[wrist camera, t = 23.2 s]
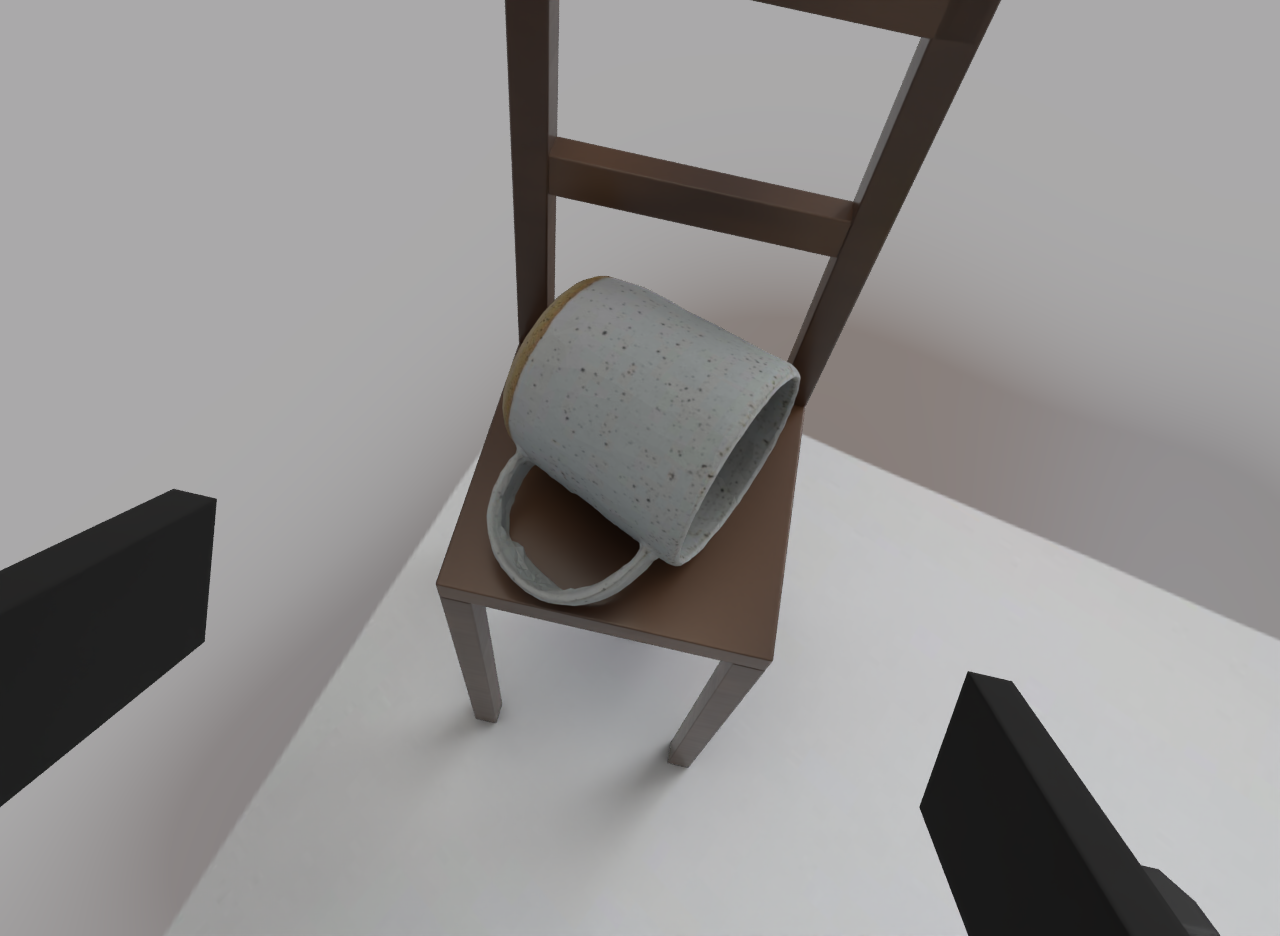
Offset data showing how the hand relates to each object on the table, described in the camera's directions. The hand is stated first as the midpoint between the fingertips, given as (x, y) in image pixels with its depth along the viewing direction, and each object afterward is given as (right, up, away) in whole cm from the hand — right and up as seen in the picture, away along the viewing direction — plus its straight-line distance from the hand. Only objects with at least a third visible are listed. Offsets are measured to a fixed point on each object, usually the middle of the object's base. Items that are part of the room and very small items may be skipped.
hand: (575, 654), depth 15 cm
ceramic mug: (0, +2, +18) cm, 18 cm away
